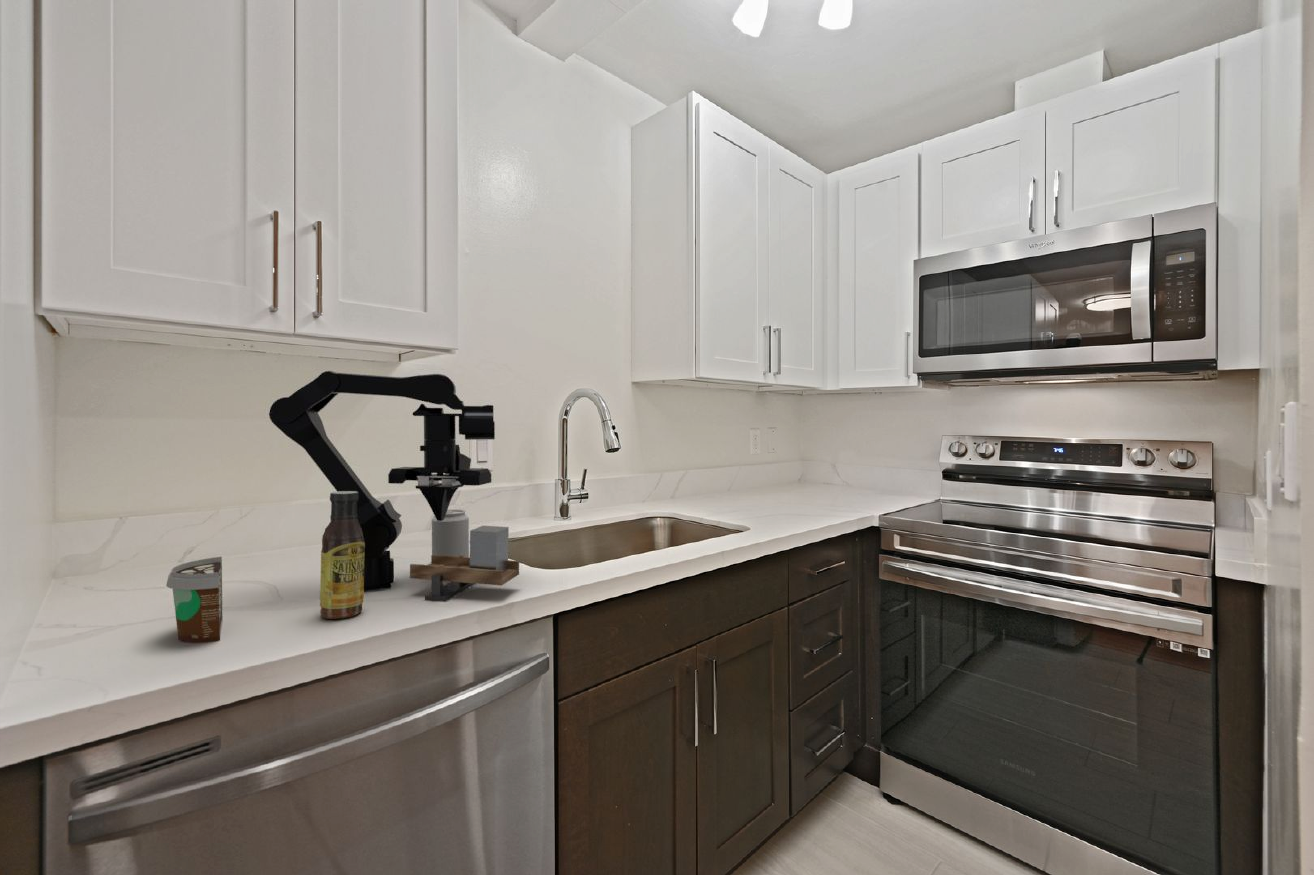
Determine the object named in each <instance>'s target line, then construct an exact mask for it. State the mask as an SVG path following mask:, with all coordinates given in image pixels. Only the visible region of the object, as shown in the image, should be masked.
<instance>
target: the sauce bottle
mask: <svg viewBox="0 0 1314 875" xmlns="http://www.w3.org/2000/svg"><path fill="white" fill-rule="evenodd" d="M329 501H330V502H331V504H330V509H331V510H330V521H329V523H328V525H327V526H326V528H325V529H324V532H323V534H322V538H321V546H322V547H321V551H320V584H319V586H320V588H319V607H320V617H321V618H324V619H327V620H338V619H339V620H340V619H347V618H350V617H354V616H357V615H358V614H360V613H361V612H362V610H363V603H364V595H365V594H364V593H365V591H364V553H365V542H364V538H363V533H362V529H361V527H360V525H359V522H358V519H357V501H358V492H357V491H332V492H330V494H329Z"/></svg>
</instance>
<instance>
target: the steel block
mask: <svg viewBox="0 0 1314 875" xmlns="http://www.w3.org/2000/svg"><path fill="white" fill-rule="evenodd" d="M509 528H510V527H509V526H496V525H481V526H478V527H475V528H474V529H470V530H469V558H470V568H475V569H488V570H502V571H503V573H504V572H505V571H507V570H508V560H509V530H510V529H509Z"/></svg>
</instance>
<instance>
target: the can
mask: <svg viewBox="0 0 1314 875" xmlns="http://www.w3.org/2000/svg"><path fill="white" fill-rule="evenodd" d="M469 523H470V518H469V516H468V515H466V510H465V509H460V508H459V509H457V508H455V509H452V508H451V509H449V508H448V509H447V512H446V515H445V518H444V520H443V521H437V519H436V517H435V515H434V516H433V518H431V555H441V556H455V557H459V556H464V557H469V558H470V529H469V528H470V525H469Z"/></svg>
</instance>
